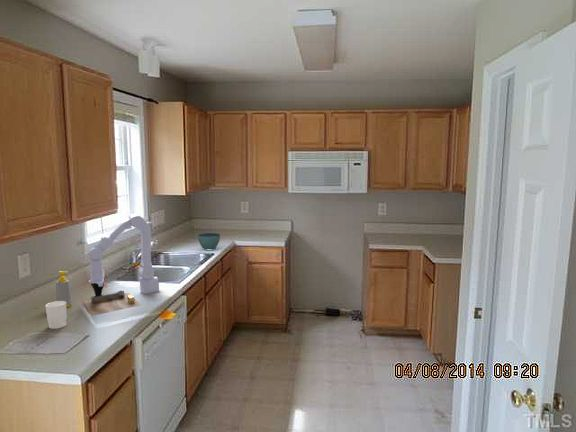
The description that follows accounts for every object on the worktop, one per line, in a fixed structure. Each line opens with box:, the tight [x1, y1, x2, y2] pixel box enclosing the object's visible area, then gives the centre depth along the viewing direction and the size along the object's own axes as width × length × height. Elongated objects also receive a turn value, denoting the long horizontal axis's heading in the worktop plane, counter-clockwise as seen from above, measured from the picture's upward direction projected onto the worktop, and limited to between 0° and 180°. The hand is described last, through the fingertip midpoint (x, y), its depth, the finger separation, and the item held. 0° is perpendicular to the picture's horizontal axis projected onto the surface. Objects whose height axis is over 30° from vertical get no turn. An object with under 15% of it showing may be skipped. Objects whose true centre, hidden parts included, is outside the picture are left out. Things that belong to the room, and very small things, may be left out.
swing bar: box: [90, 290, 125, 303], centre depth 203 cm, size 16×3×3 cm, turn 126°
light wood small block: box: [127, 294, 136, 303], centre depth 200 cm, size 2×4×3 cm, turn 36°
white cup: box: [44, 301, 68, 330], centre depth 174 cm, size 8×8×10 cm
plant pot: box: [197, 232, 221, 250], centre depth 331 cm, size 18×18×12 cm
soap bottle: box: [55, 270, 73, 309], centre depth 198 cm, size 7×7×18 cm
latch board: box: [82, 292, 142, 316], centre depth 199 cm, size 22×24×2 cm
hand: (98, 296), depth 205 cm, fingers closed
